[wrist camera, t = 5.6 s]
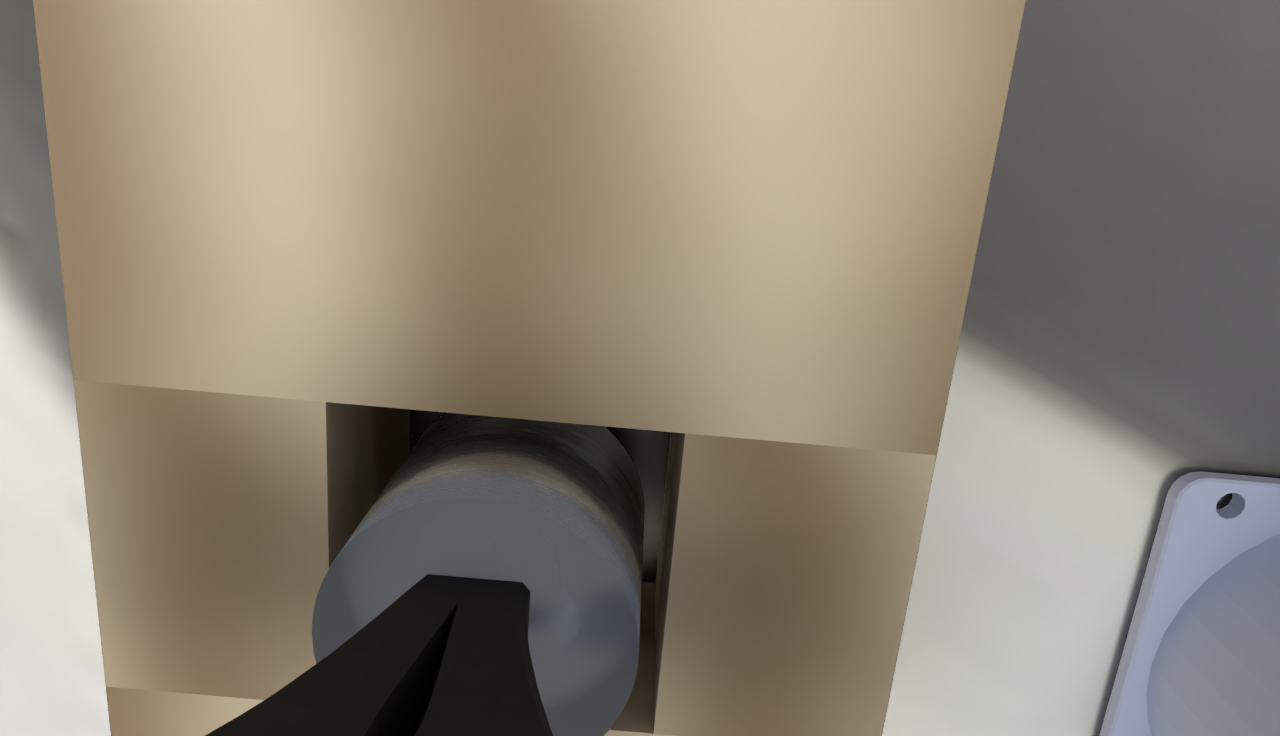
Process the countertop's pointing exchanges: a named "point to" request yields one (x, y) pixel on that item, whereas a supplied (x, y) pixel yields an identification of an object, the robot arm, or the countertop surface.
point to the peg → (512, 550)
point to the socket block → (518, 309)
